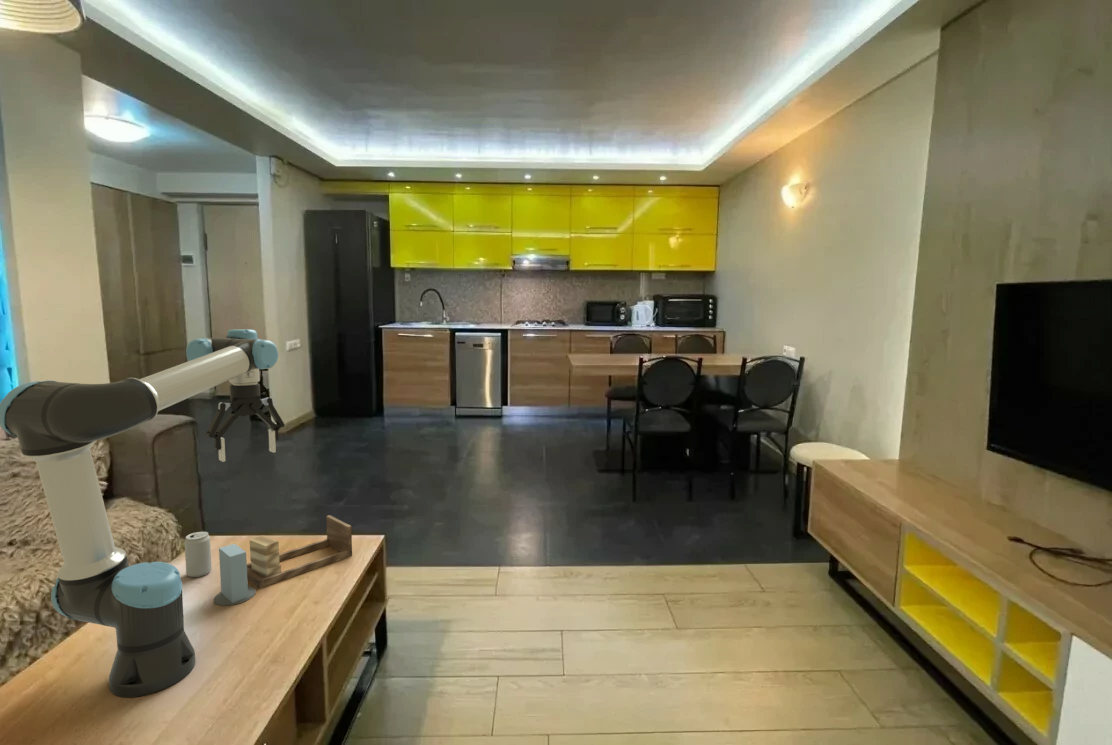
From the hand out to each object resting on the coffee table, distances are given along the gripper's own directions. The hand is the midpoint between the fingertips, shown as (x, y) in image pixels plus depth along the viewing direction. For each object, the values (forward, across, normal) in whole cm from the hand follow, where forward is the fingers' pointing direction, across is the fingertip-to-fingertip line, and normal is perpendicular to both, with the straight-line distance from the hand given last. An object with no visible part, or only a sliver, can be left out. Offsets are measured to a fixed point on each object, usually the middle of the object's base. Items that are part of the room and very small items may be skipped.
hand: (248, 456), depth 159 cm
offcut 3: (+37, +3, -2) cm, 37 cm away
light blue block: (+36, -8, -8) cm, 38 cm away
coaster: (+37, -8, -8) cm, 38 cm away
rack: (+37, +12, -2) cm, 39 cm away
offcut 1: (+29, +3, -2) cm, 29 cm away
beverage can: (+37, -10, +14) cm, 41 cm away
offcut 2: (+33, +3, -2) cm, 33 cm away
